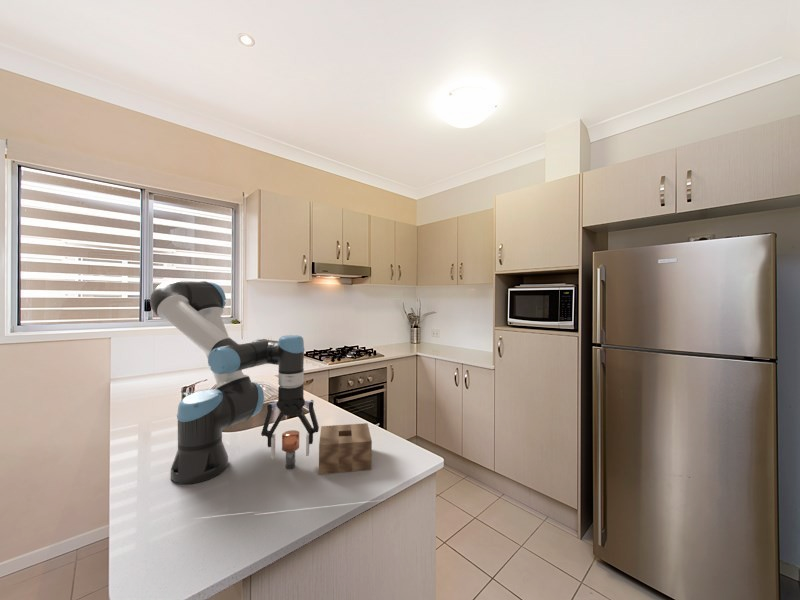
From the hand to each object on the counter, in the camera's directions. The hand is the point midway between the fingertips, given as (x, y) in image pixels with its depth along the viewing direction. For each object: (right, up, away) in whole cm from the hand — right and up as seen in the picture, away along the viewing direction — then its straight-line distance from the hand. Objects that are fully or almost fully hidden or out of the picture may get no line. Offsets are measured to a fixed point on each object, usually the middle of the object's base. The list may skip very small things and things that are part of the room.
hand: (290, 455), depth 101 cm
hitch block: (+16, -4, +4) cm, 17 cm away
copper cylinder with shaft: (0, -4, 0) cm, 4 cm away
